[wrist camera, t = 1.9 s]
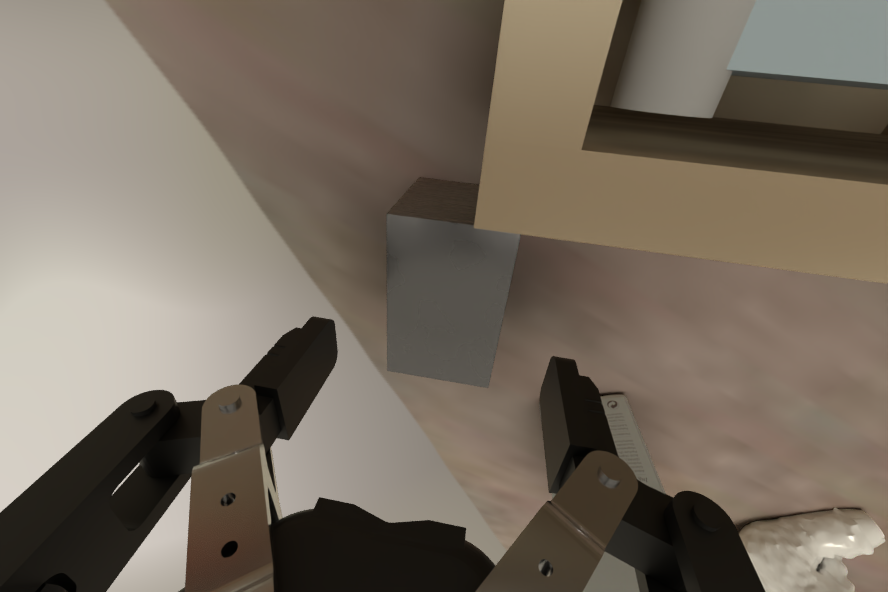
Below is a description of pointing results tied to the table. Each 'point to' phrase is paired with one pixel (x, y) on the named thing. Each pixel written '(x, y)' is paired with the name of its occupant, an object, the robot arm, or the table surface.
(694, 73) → the hatch door
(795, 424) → the table surface
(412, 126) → the table surface
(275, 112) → the table surface
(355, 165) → the table surface
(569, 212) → the hatch box
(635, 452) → the skincare box
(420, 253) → the metal brick
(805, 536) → the seated beast figurine
